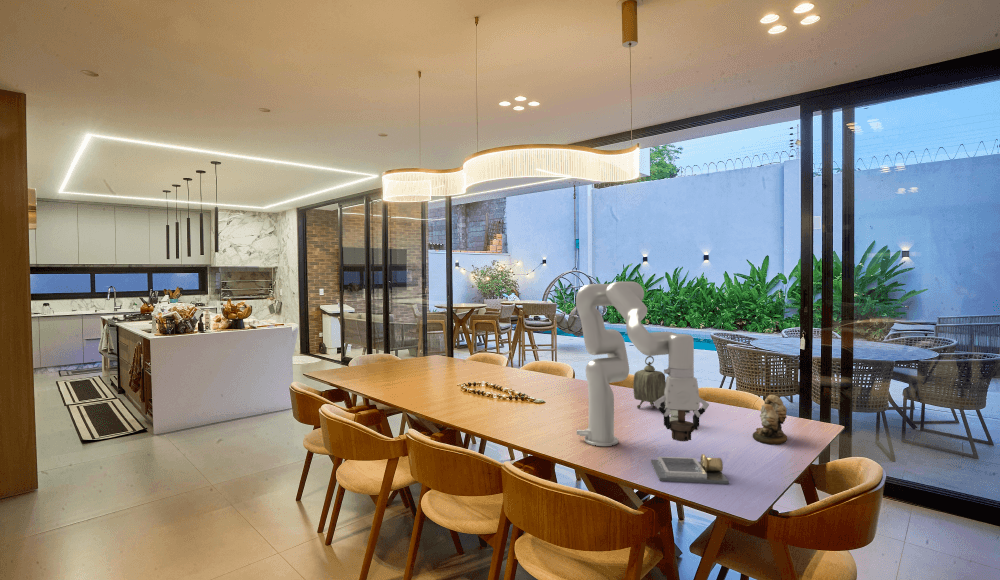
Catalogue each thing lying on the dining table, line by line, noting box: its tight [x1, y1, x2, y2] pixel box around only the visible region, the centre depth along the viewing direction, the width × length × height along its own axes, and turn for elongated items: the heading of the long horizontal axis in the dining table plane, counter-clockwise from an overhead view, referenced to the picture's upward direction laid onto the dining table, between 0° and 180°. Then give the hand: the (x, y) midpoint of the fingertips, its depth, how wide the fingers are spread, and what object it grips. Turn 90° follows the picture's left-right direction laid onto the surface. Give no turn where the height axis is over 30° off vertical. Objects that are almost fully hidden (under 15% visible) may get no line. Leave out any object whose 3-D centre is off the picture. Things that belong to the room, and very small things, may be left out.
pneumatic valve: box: [660, 402, 691, 421], centre depth 215 cm, size 6×12×12 cm, turn 61°
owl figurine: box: [752, 394, 788, 446], centre depth 195 cm, size 18×12×17 cm, turn 150°
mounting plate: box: [650, 453, 730, 485], centre depth 160 cm, size 20×16×6 cm
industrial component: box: [669, 410, 696, 442], centre depth 160 cm, size 9×7×12 cm
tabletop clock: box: [632, 356, 666, 409], centre depth 244 cm, size 14×9×25 cm, turn 130°
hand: (681, 428), depth 160 cm, fingers closed on industrial component, 8 cm apart
